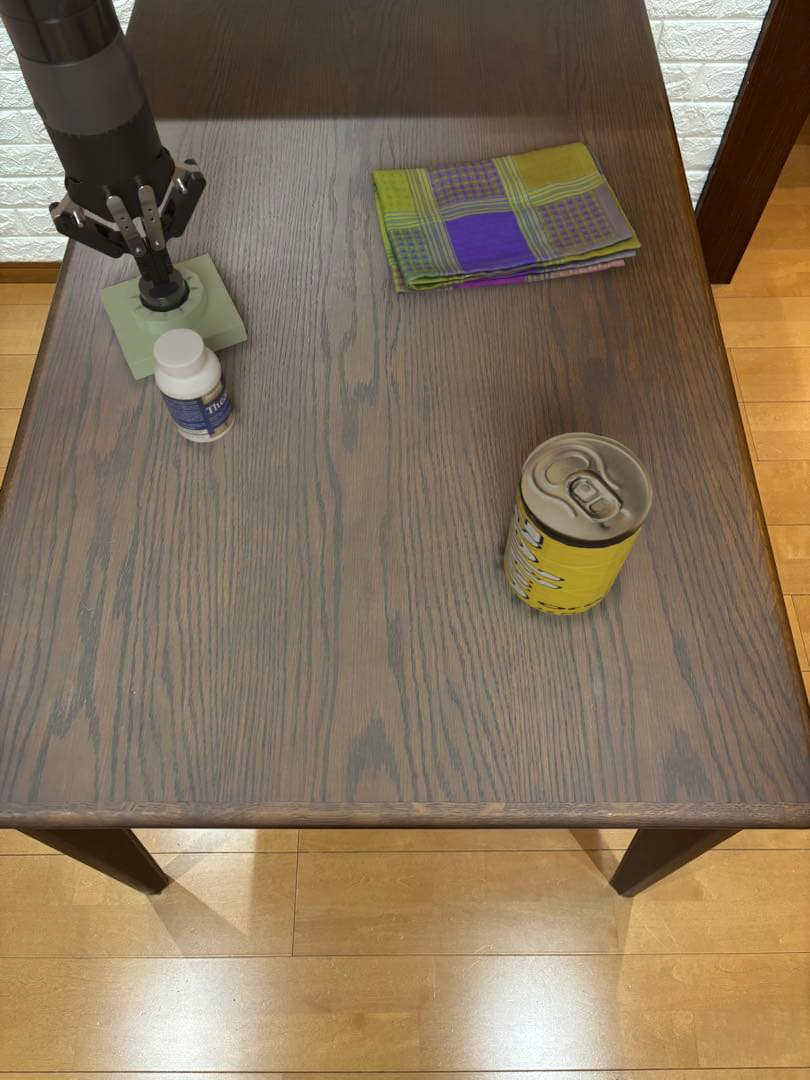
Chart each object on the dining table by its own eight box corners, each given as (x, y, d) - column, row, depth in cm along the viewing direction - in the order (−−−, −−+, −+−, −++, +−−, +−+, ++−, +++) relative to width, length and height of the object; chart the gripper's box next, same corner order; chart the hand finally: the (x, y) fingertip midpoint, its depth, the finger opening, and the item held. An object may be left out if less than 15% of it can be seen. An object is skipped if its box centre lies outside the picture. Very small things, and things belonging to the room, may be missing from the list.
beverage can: (558, 495, 69) (583, 410, 59) (638, 568, 66) (680, 492, 56) (480, 558, 67) (491, 481, 56) (559, 637, 64) (587, 571, 53)
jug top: (135, 380, 76) (122, 352, 72) (105, 306, 80) (91, 276, 76) (248, 340, 78) (240, 310, 74) (213, 269, 82) (203, 238, 78)
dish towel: (368, 181, 87) (367, 159, 85) (591, 152, 89) (596, 129, 87) (396, 304, 79) (395, 283, 77) (640, 269, 81) (647, 248, 79)
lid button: (151, 318, 74) (145, 304, 73) (138, 288, 76) (132, 274, 74) (193, 303, 75) (188, 289, 74) (179, 274, 77) (174, 260, 75)
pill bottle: (228, 448, 72) (202, 377, 63) (168, 440, 73) (135, 369, 64) (243, 399, 74) (220, 324, 66) (185, 392, 75) (155, 317, 66)
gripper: (163, 40, 61) (215, 226, 76) (-15, 92, 59) (76, 273, 74) (196, 99, 58) (243, 281, 73) (9, 156, 55) (98, 331, 71)
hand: (159, 277), depth 74 cm, fingers closed
